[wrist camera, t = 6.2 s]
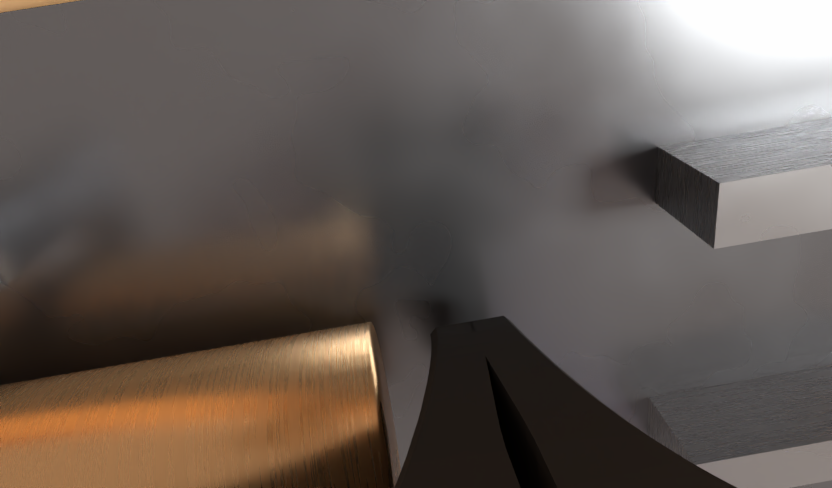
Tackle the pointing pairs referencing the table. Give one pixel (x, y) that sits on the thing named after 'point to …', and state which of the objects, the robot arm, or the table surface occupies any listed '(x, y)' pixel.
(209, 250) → the firebox plate
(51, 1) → the table surface
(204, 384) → the copper tube
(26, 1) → the table surface
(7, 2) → the table surface
